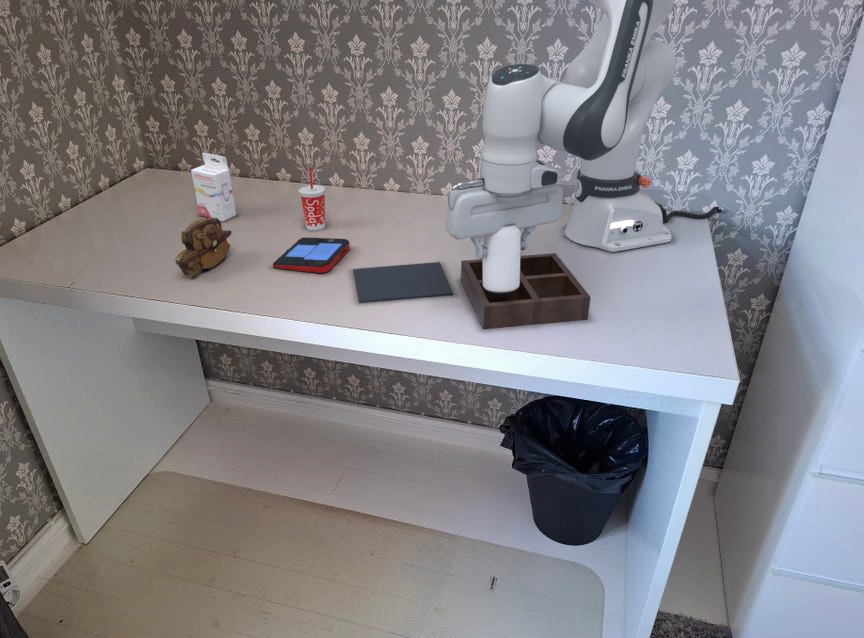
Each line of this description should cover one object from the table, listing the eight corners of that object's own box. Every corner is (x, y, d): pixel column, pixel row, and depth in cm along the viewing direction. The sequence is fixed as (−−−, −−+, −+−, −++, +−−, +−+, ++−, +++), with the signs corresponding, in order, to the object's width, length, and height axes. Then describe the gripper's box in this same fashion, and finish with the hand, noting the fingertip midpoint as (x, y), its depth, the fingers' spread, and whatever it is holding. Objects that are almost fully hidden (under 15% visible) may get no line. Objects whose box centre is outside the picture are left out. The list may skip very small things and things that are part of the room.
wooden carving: (197, 284, 137) (187, 238, 131) (178, 282, 138) (167, 236, 133) (239, 252, 149) (231, 208, 144) (221, 250, 151) (213, 207, 145)
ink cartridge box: (198, 216, 169) (186, 157, 161) (212, 209, 172) (202, 151, 164) (223, 222, 165) (213, 161, 157) (237, 215, 168) (227, 156, 160)
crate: (553, 273, 135) (555, 252, 133) (587, 319, 120) (590, 297, 117) (460, 281, 134) (461, 260, 131) (483, 329, 118) (484, 306, 116)
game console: (301, 241, 153) (300, 232, 152) (353, 248, 149) (353, 238, 148) (271, 268, 142) (269, 258, 141) (326, 276, 138) (325, 266, 137)
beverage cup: (298, 229, 159) (291, 170, 152) (309, 220, 164) (303, 162, 156) (321, 232, 157) (316, 173, 150) (332, 223, 162) (327, 164, 154)
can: (518, 294, 117) (519, 226, 111) (480, 293, 118) (479, 226, 113) (521, 280, 122) (522, 215, 117) (485, 279, 124) (484, 215, 118)
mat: (439, 264, 141) (439, 261, 141) (453, 295, 129) (453, 292, 129) (353, 271, 139) (353, 269, 139) (359, 303, 128) (358, 300, 127)
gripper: (457, 190, 104) (454, 271, 112) (572, 171, 110) (561, 250, 118) (440, 177, 109) (438, 255, 117) (551, 160, 115) (542, 236, 122)
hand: (501, 252), depth 117 cm, fingers closed on can, 6 cm apart
